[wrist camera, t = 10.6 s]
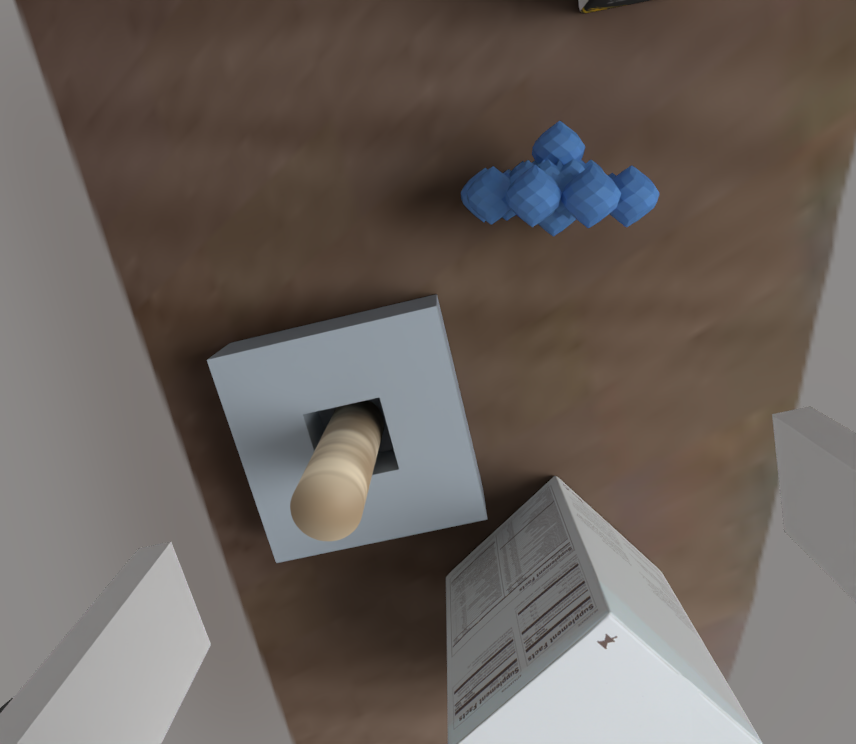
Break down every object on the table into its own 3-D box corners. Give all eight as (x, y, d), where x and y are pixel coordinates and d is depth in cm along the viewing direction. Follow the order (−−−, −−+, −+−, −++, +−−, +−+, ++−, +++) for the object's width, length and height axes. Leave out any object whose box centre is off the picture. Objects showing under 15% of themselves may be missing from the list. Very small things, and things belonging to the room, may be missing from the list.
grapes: (630, 129, 44) (698, 108, 33) (622, 231, 46) (683, 245, 34) (459, 129, 44) (467, 107, 33) (458, 230, 46) (464, 243, 35)
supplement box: (440, 576, 54) (440, 753, 37) (554, 471, 51) (611, 609, 34) (551, 669, 56) (599, 874, 39) (667, 573, 53) (771, 749, 37)
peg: (325, 404, 49) (281, 483, 35) (376, 392, 48) (351, 468, 35) (339, 452, 50) (301, 547, 36) (390, 441, 49) (370, 533, 36)
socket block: (229, 343, 49) (206, 360, 44) (436, 294, 47) (436, 305, 43) (291, 529, 53) (276, 562, 48) (482, 488, 52) (487, 519, 47)
